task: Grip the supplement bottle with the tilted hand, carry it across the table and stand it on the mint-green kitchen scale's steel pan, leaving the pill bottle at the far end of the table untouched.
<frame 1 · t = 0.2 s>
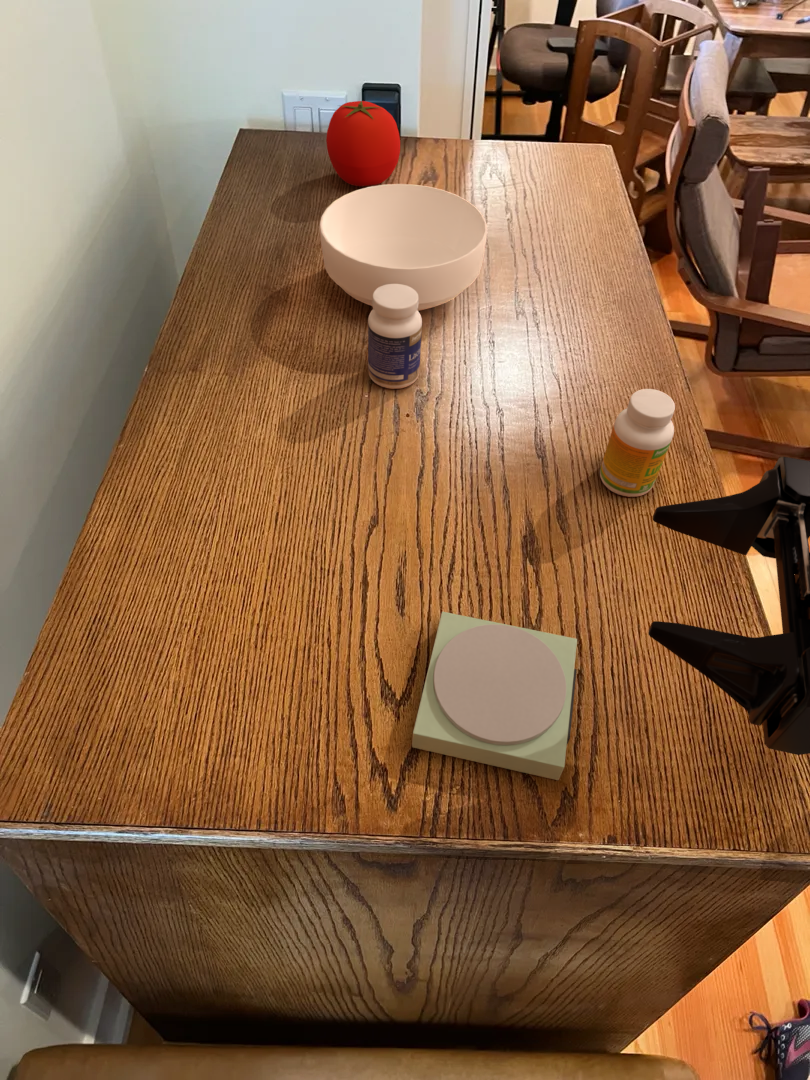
hand: (652, 567, 48), 17 cm above the cabinet, tool horizontal, fingers open, 9 cm apart
tomato: (362, 182, 114), on the cabinet
supplement bottle: (625, 480, 76), on the cabinet
pill bottle: (393, 375, 85), on the cabinet
bowl: (402, 288, 96), on the cabinet
scale: (495, 698, 60), on the cabinet
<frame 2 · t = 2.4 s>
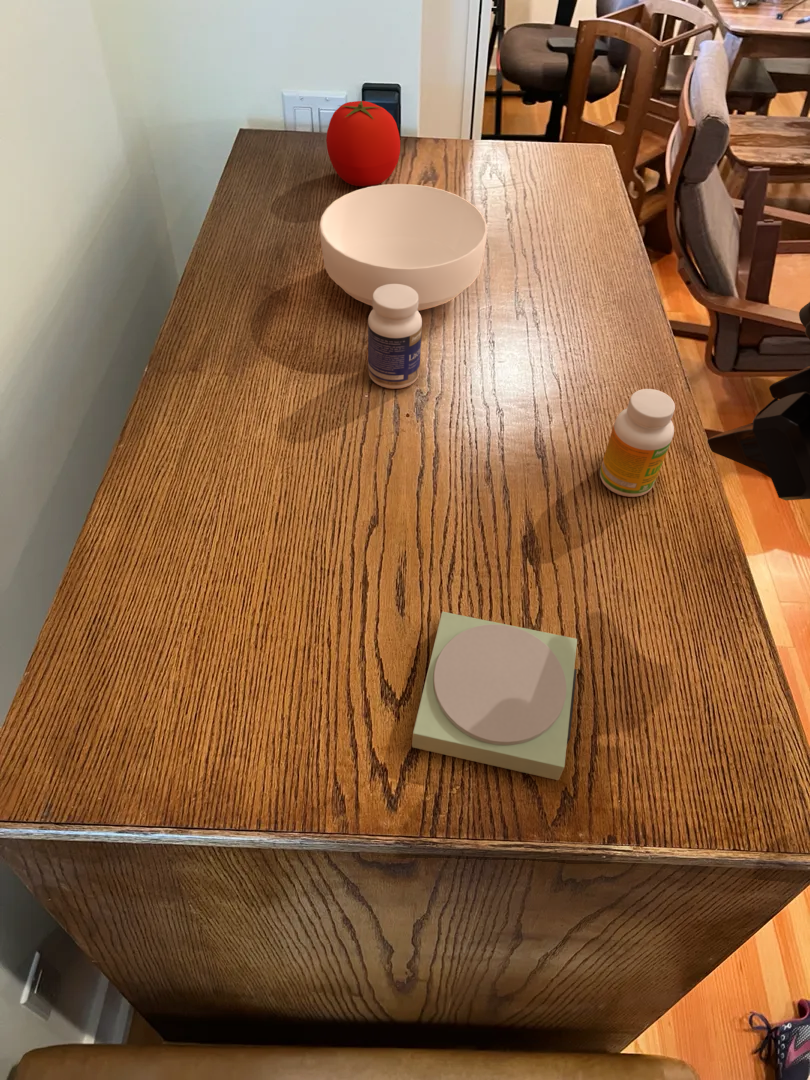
hand: (741, 417, 61), 14 cm above the cabinet, tool tilted 45°, fingers open, 9 cm apart
nothing on the cabinet moved.
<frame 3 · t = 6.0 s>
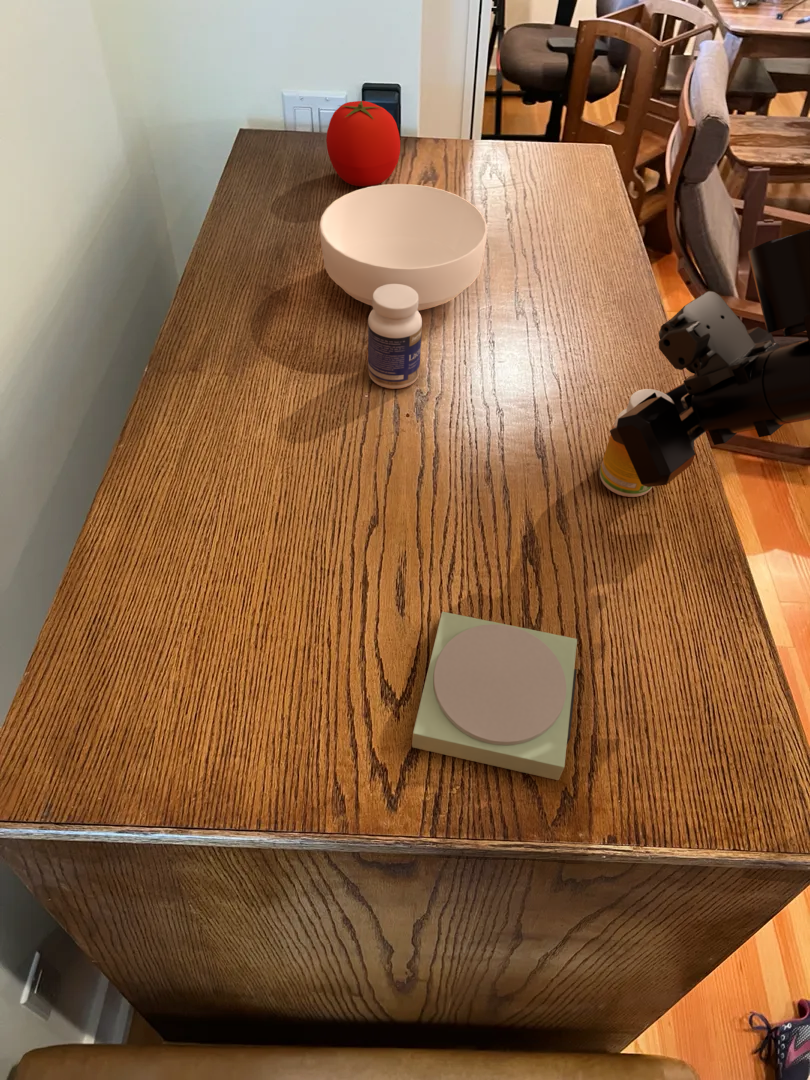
hand: (631, 421, 71), 7 cm above the cabinet, tool tilted 45°, fingers closed on supplement bottle, 5 cm apart
supplement bottle: (625, 480, 76), on the cabinet, touching gripper
everything else where it was.
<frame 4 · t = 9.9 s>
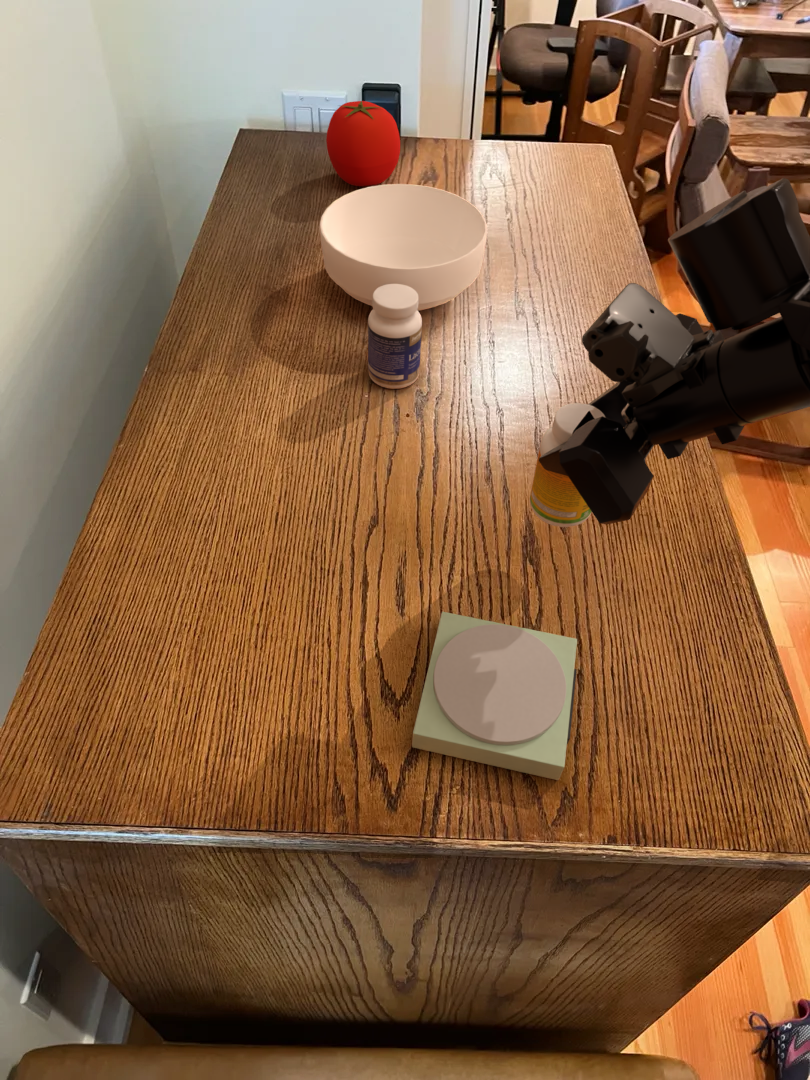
hand: (558, 442, 61), 12 cm above the cabinet, tool tilted 45°, fingers closed on supplement bottle, 5 cm apart
supplement bottle: (560, 507, 66), point 5 cm above the cabinet, touching gripper
everything else where it was.
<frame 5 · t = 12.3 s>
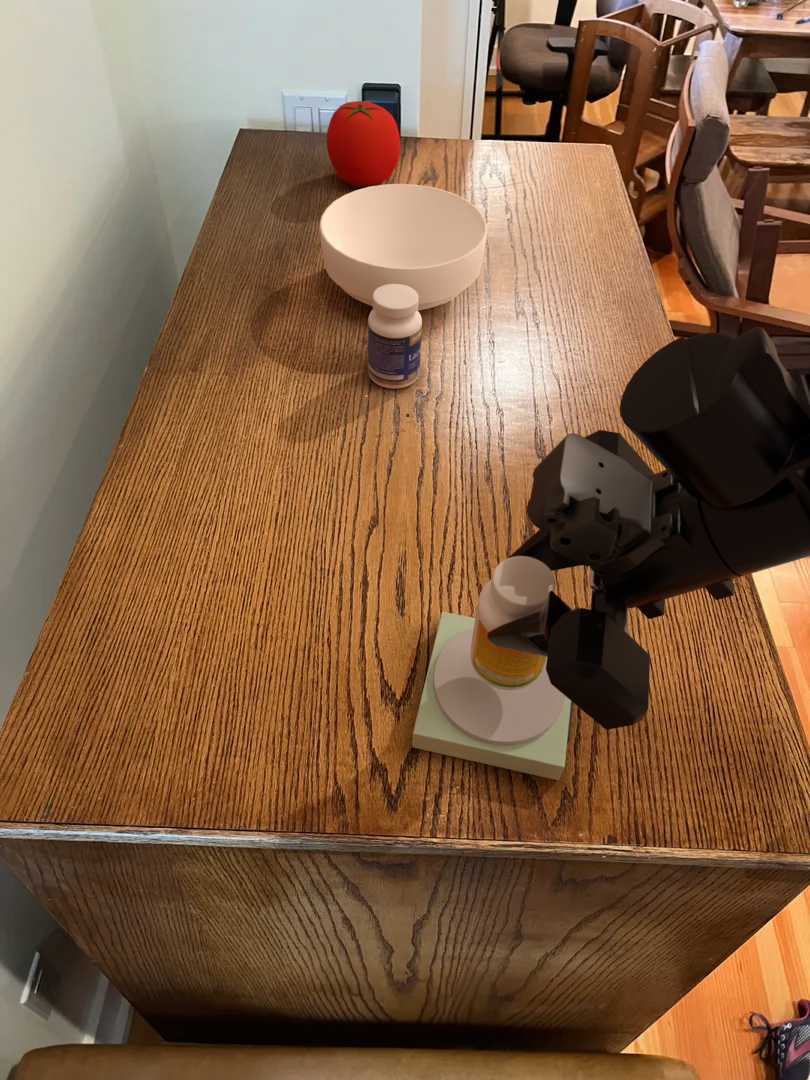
hand: (498, 603, 51), 12 cm above the cabinet, tool tilted 45°, fingers closed on supplement bottle, 5 cm apart
supplement bottle: (506, 660, 56), point 5 cm above the cabinet, touching gripper
everything else where it was.
when the fingers open (10 cm above the cabinet, at t = 14.1 s): supplement bottle stays where it is, resting on scale.
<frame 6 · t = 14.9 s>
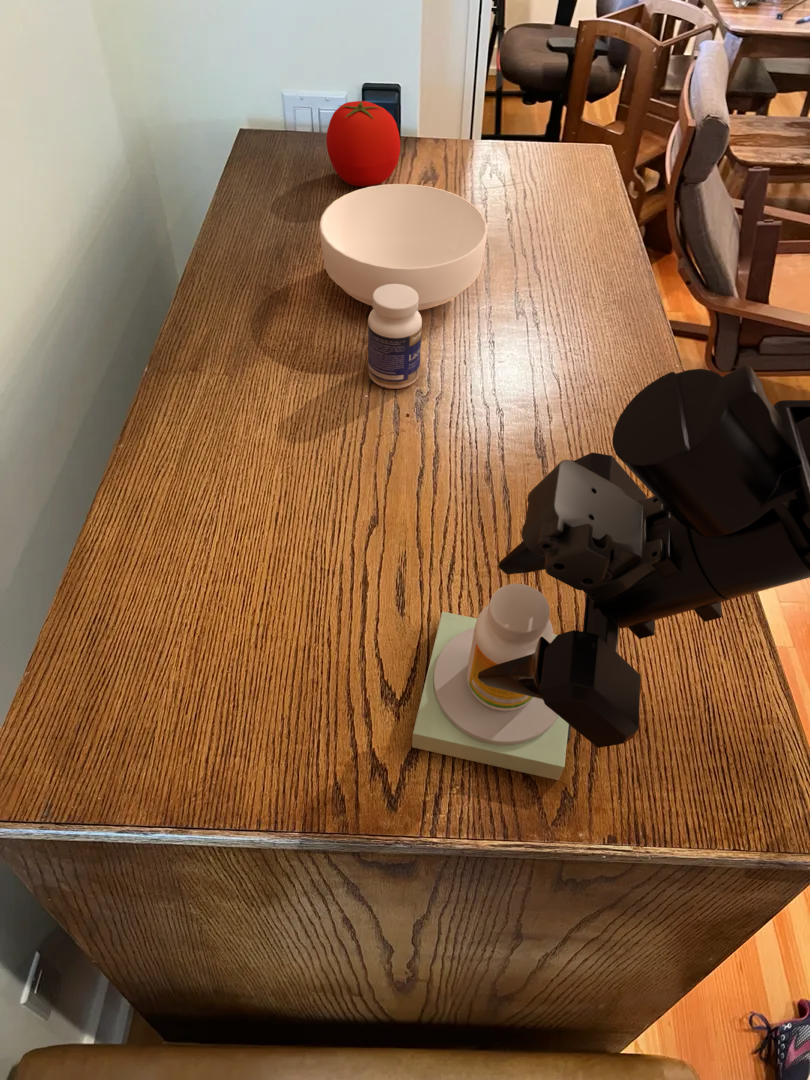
hand: (492, 620, 52), 11 cm above the cabinet, tool tilted 45°, fingers open, 9 cm apart
supplement bottle: (501, 681, 58), point 3 cm above the cabinet, touching scale
everything else where it was.
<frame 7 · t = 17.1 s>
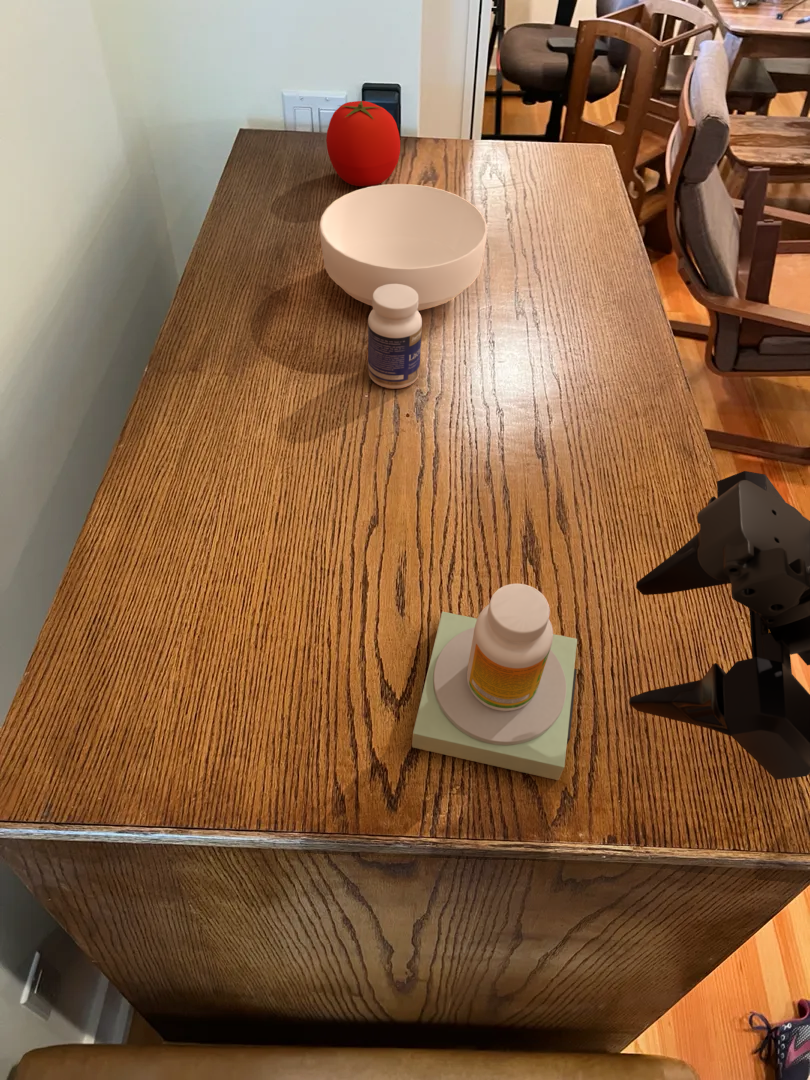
hand: (635, 643, 51), 11 cm above the cabinet, tool tilted 45°, fingers open, 9 cm apart
nothing on the cabinet moved.
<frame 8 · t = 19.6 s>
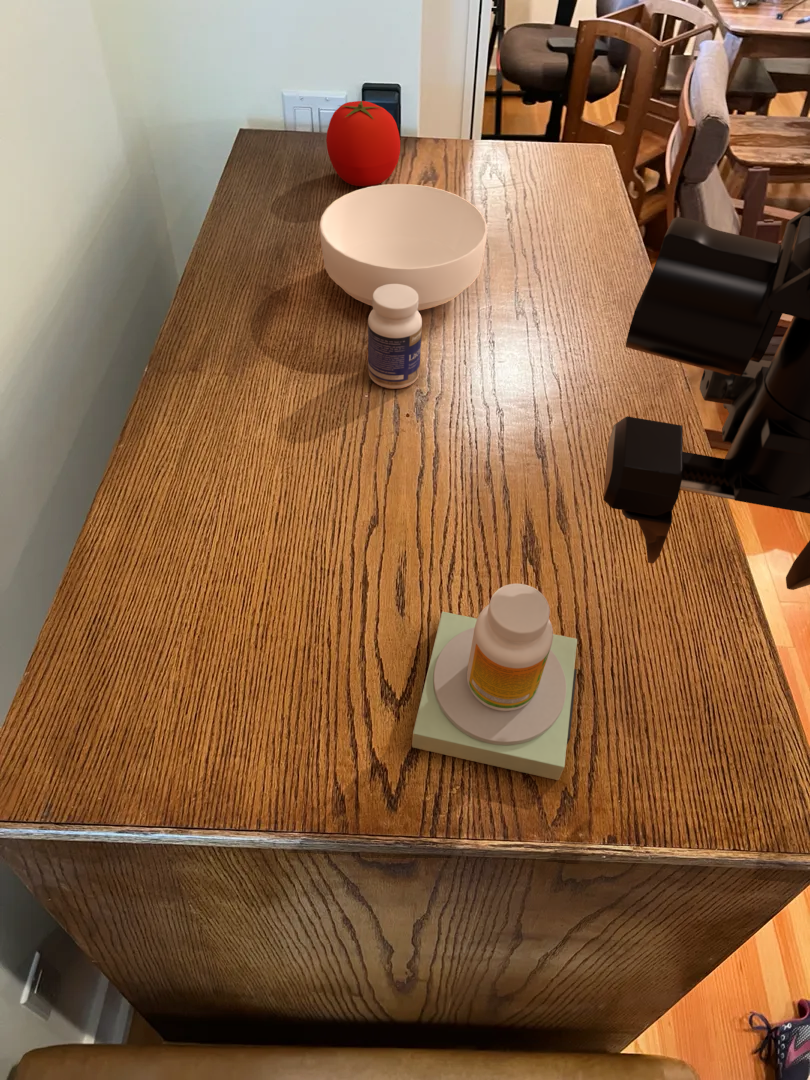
hand: (719, 570, 52), 13 cm above the cabinet, tool pointing down, fingers open, 9 cm apart
nothing on the cabinet moved.
at the end: supplement bottle inside the target area on the scale (0.2 cm from its centre), point 2.8 cm above the scale's base; supplement bottle tilted 0°; pill bottle moved 0.2 cm from its start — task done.
